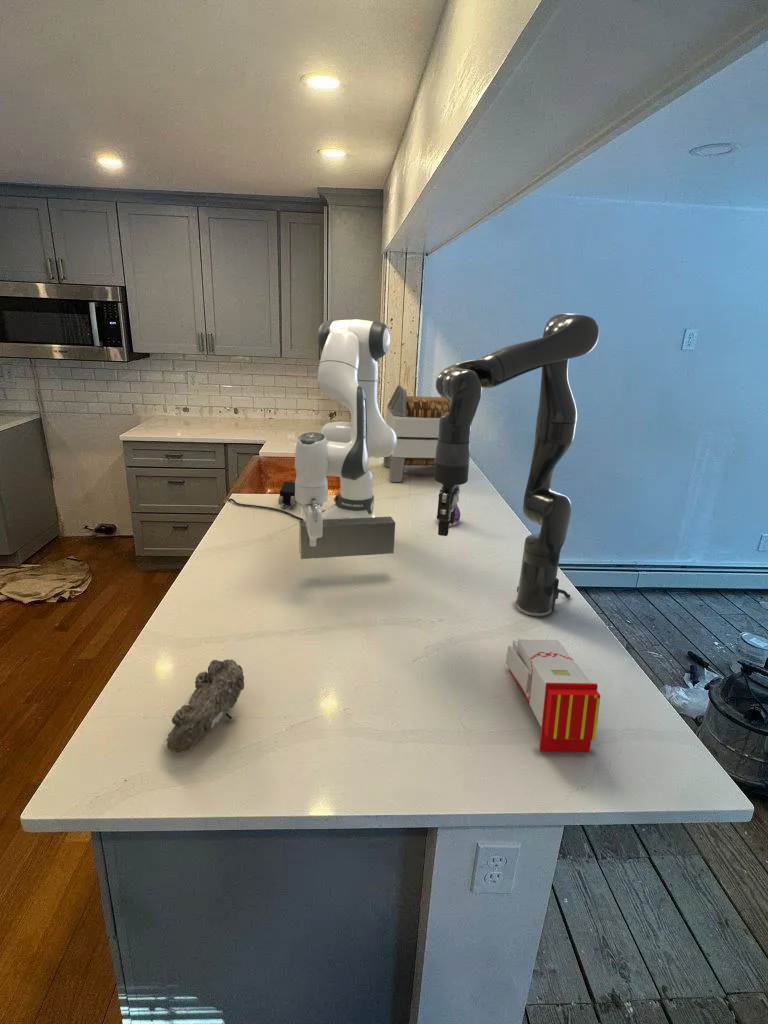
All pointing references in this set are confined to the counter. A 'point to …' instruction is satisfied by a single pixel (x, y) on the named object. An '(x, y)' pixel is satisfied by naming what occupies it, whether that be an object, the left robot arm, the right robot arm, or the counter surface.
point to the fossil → (206, 705)
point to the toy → (556, 694)
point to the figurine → (457, 516)
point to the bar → (349, 538)
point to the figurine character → (287, 494)
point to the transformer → (413, 430)
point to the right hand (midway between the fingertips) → (446, 528)
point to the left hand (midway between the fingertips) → (311, 540)
